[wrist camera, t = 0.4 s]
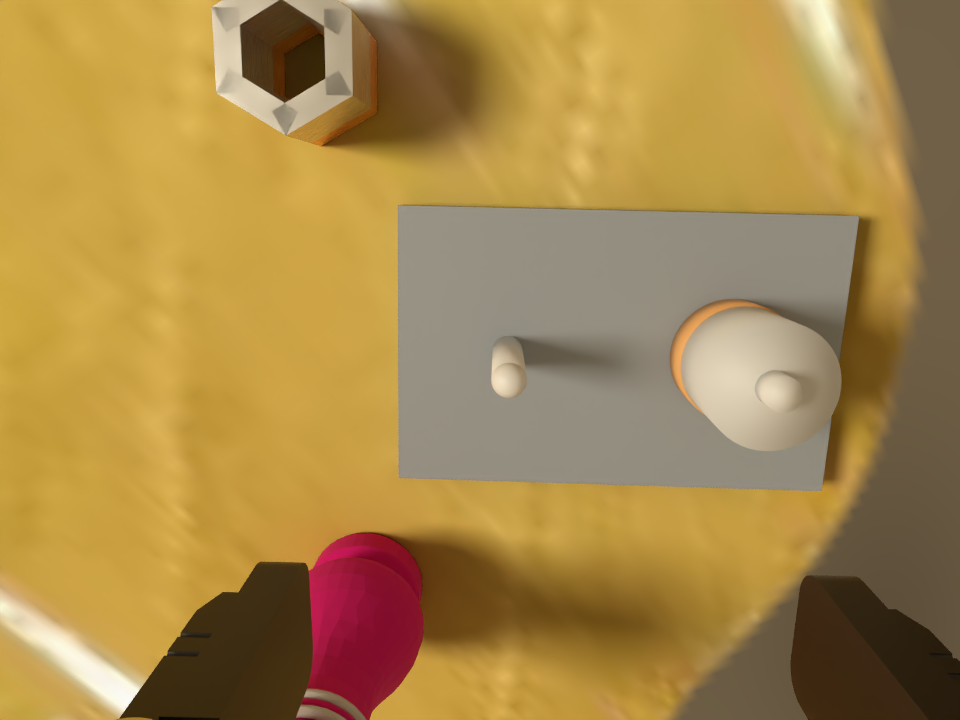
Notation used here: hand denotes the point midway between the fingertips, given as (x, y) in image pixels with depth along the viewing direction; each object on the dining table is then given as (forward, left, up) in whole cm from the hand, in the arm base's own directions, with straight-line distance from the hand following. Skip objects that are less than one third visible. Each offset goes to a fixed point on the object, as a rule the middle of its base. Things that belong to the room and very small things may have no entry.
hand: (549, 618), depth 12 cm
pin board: (+1, +5, -26) cm, 27 cm away
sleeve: (-12, -10, -26) cm, 30 cm away
